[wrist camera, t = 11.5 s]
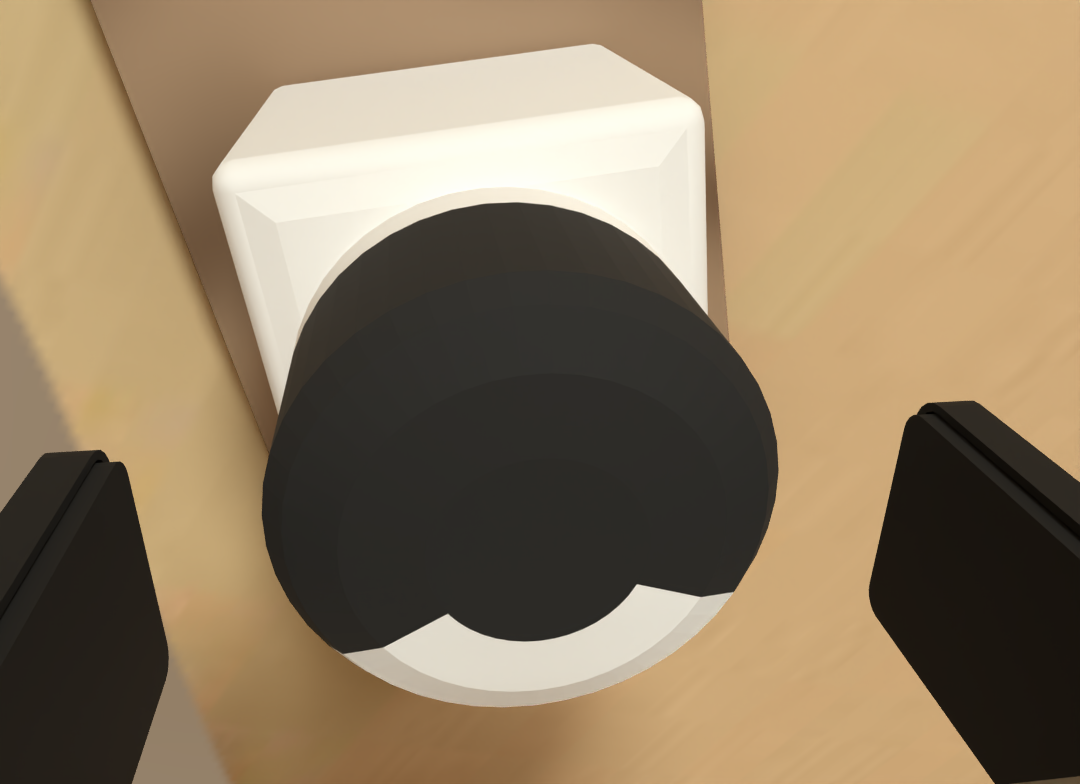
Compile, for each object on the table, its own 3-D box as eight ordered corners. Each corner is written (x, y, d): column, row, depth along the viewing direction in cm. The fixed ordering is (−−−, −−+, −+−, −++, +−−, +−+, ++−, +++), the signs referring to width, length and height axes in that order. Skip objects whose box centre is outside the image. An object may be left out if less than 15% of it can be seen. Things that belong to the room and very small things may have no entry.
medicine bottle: (266, 85, 18) (90, 306, 8) (605, 39, 19) (875, 187, 8) (341, 387, 22) (291, 826, 11) (626, 341, 22) (834, 718, 12)
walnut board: (725, 477, 26) (742, 506, 25) (332, 570, 26) (328, 604, 25) (648, -375, 17) (670, -400, 15) (17, -254, 16) (-16, -270, 15)
